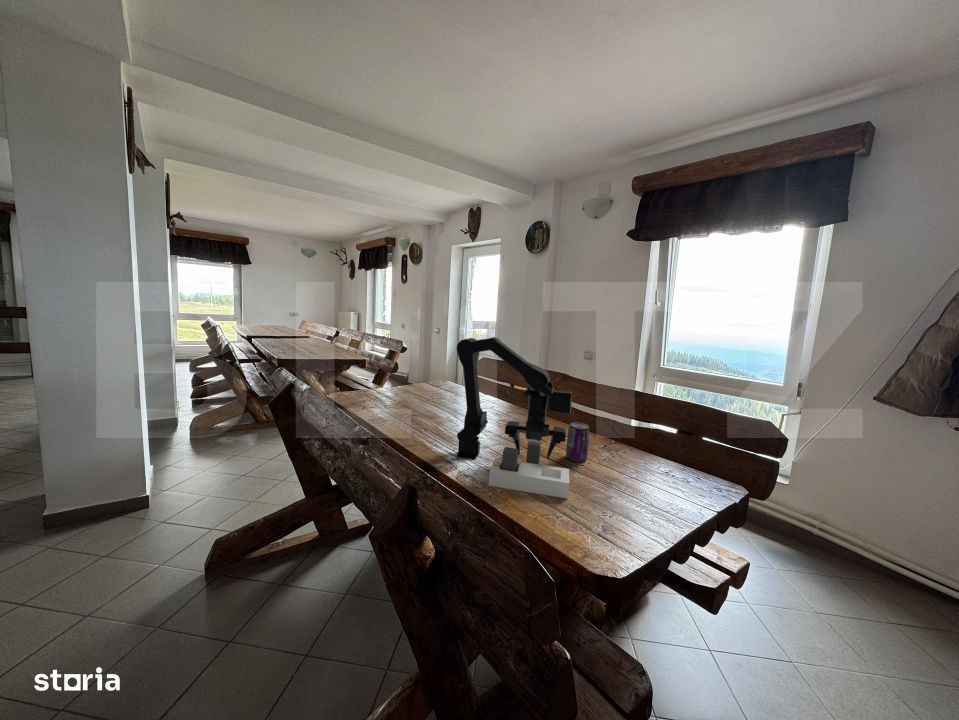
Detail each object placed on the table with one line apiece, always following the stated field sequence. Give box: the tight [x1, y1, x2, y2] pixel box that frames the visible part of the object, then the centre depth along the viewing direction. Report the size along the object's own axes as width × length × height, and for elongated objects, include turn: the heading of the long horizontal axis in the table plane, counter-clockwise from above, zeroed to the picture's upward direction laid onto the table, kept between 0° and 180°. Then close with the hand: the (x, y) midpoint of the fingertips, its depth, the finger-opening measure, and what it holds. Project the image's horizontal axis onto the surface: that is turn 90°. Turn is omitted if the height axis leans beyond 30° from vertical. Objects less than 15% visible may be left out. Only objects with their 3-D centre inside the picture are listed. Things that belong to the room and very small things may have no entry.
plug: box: [525, 439, 542, 465], centre depth 117 cm, size 4×4×9 cm
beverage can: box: [565, 421, 590, 463], centre depth 125 cm, size 7×7×12 cm
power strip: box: [488, 446, 570, 500], centre depth 105 cm, size 22×9×10 cm, turn 77°
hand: (533, 456), depth 117 cm, fingers open, 9 cm apart
